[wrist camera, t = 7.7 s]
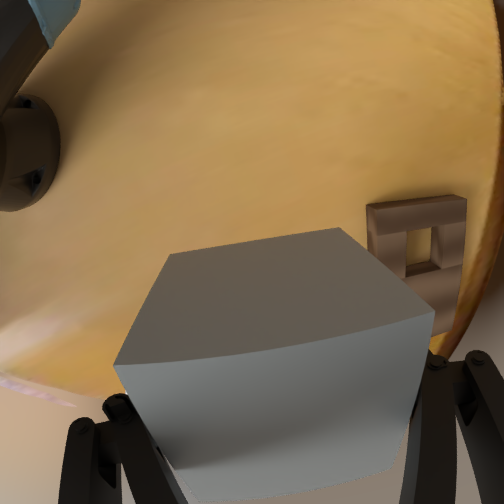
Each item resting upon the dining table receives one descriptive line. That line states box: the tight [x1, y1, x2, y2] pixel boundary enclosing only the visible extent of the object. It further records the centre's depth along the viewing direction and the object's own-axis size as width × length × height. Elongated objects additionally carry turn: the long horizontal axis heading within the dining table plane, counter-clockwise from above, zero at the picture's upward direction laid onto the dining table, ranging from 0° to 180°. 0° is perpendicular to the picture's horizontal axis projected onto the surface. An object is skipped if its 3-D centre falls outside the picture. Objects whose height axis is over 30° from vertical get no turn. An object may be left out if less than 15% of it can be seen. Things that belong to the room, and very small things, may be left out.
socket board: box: [366, 195, 467, 337], centre depth 36 cm, size 20×14×3 cm
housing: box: [113, 227, 435, 502], centre depth 13 cm, size 9×9×9 cm
